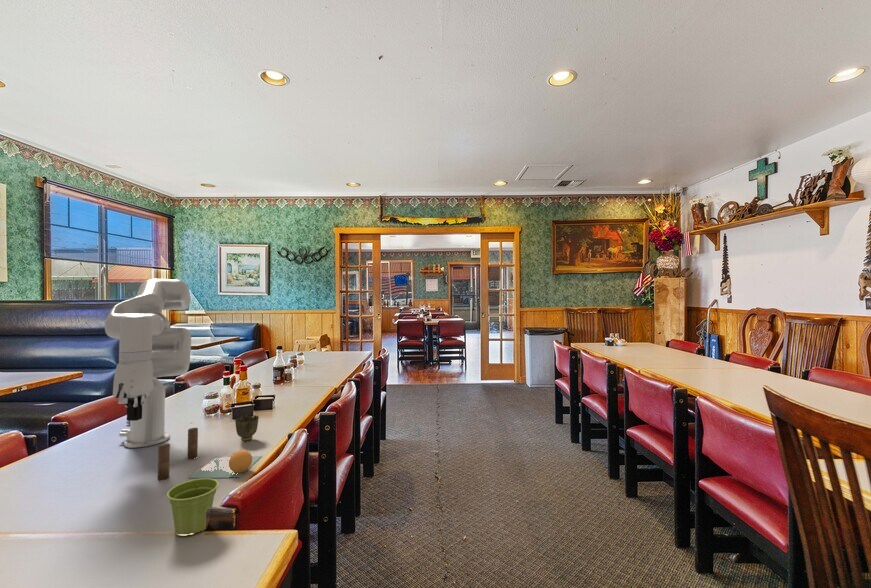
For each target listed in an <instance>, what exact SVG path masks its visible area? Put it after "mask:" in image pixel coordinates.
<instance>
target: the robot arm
mask: <svg viewBox="0 0 871 588" xmlns="http://www.w3.org/2000/svg"><path fill="white" fill-rule="evenodd" d="M190 305H191V292H190V289H189V287H188V285H187V283H186V282H185V281H183V280H182V279H170V278H150V279H147V280H144V281H143V282H141V284H140V286H139V288H138V290H137V293H136V295H135V297H132V298H129V299H127V300H123V301H121V302H119V303H117V304H116V305H113V307H112V308H111V309H110V311H109V312H108V315H107V317H106V319H105V323H104V331H105V332H104V333H105V334H106V335H107V337H109V338H111V339H119V344H118V345H119V347H118V350H119V351H118V363H117V365H116V366H115V367H116V368H115V372H114V377H113V385H112V387H113V388H112V396H113V398H114V399H118V402H117V404H119V405H120V404H121V405H124V407H125V408H126V421H127V420H128V421H130V424H129V426H130V427H129V428H122V429H121V430H120V433H119V434H118V436H119V437H122V438H123V437H126V439H124V441H123V446H124V447H126V448H130V449H131V448H133V449H134V448H136V449H137V448H145V447H150V446H155V445H158V444H159V445H160V444H161V443H164V442H166V441H167V440H169V439H170V437H171V436H170V435H171V434H170V433H169V432H167V431H165V423H166V422H165V419H166V418H165V416H166V415H165V414H166V412H165V411H166V388H165V386H164V384H163V383H162V381H160V380H159V379H158V378H162V377H175V376H182V375H184V374H186V373H187V372H188V371H189V368H190V363H191V353H192V352H191V351H192V350H191V349H192V335H191V332H190V330H189V329H187V328H185V327H170V326H171V323H170V320H169V319H168V317H166V315H164V314H163V313H162V311H179V310H180V311H182V310H187V309H189V307H190Z"/></svg>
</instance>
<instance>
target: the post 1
mask: <svg viewBox="0 0 871 588" xmlns="http://www.w3.org/2000/svg"><path fill="white" fill-rule="evenodd" d="M170 450H171V444H170V443H162V444H161V443H160V444H159V445H158V446H157V480H158V481H165V480H167V479H169V478H170V462H171V461H170V458H171V457H170V452H171V451H170Z"/></svg>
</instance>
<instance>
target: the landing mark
mask: <svg viewBox="0 0 871 588" xmlns="http://www.w3.org/2000/svg"><path fill="white" fill-rule="evenodd" d="M251 456H252V455H251ZM217 457H218V458H219V457H220V458H221V457H222V456H214V458H217ZM262 457H263V456H262V455H261V456H259V455H256V456H255V455H253V456H252V464H251V466H252V465H253V464H254V465H255V464H256V463H257V462H258V461H259V460H260V459H261V458H262ZM214 458H213V460H214ZM218 458H217V459H218ZM217 459H216V460H214V462H215V463H216V465H217V466H215V467H217V470H216V469H214V471H212V470H211V471H212V472H211V471H209V470H208V471H207V470H206V471H204V470H203V471H202V470H201V468H199V469H200V470H199V469H198V470H196V471H195V472H194V473H192V475H190V476H189V477H188V479H189V480H190V479H203V478H210V479H230V478H229V477H234V478H233V479H236V478H235V477H239V478H238V479H240V478H241V477H243V476H244V474H246V472H247V470H248V469H249V468H250V467H251V466H250V467H249V468H248V469H247V470H246V471H244V472H242V473H238V474H237V473H235V472H234V473H235V474H233V475H232V473H233V472H232V473H230V474H229V472H226V471H223V470H222V469H220V470H219V468H218V467H219V461H220V460H219V459H218V460H219V461H218V460H217ZM211 460H212V459H211ZM213 460H212V461H213ZM221 461H222V460H221ZM227 461H228V460H227ZM209 462H210V461H209ZM209 462H207V463H209ZM210 463H211V462H210ZM210 463H209V464H210ZM254 465H253V466H254ZM253 466H252V467H253ZM215 467H214V468H215ZM252 467H251V468H252ZM220 468H221V467H220ZM223 468H224V467H223ZM251 468H250V469H251ZM211 469H212V468H211ZM250 469H249V470H250ZM249 470H248V471H249ZM236 474H237V475H236Z"/></svg>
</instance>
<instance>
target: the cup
mask: <svg viewBox="0 0 871 588" xmlns="http://www.w3.org/2000/svg"><path fill="white" fill-rule="evenodd" d="M259 418H260V417H259V415H255V414H254V415H253V416H251V414H249V415H248V414H245V415H244V416H243V415H241V416H238V417H236V418H235V419H234V422H235V423H234V424H235V431H236V434H237V436H238V437H240V440H241V442H242V441H243V443H246V442H247V441H248V442H250V441H252V440H253V438H254V437H253V436H254V435H255V434H256V432H257V430H258V427H259V426H258V425H259Z"/></svg>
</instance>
